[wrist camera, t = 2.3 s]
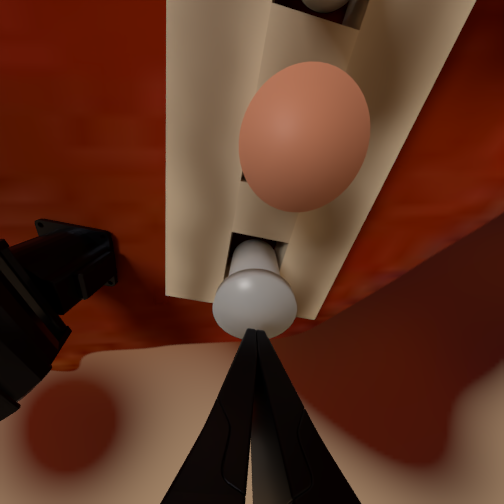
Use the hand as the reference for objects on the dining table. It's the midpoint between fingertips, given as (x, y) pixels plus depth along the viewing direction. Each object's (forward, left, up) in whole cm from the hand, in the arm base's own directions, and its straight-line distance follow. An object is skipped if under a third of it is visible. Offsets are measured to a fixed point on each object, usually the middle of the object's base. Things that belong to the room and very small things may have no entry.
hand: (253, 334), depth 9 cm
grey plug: (0, 0, -7) cm, 7 cm away
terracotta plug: (0, +8, -7) cm, 11 cm away
